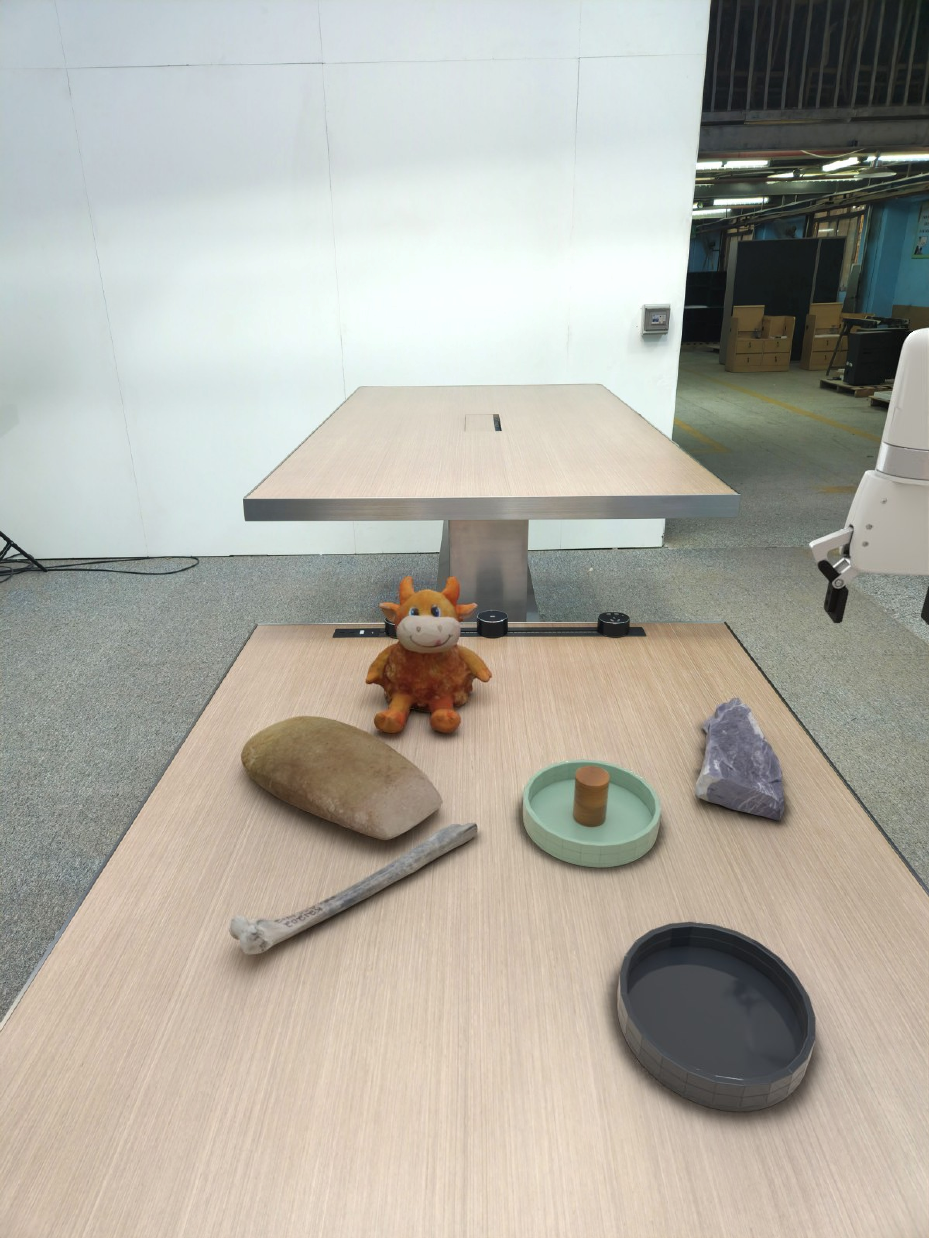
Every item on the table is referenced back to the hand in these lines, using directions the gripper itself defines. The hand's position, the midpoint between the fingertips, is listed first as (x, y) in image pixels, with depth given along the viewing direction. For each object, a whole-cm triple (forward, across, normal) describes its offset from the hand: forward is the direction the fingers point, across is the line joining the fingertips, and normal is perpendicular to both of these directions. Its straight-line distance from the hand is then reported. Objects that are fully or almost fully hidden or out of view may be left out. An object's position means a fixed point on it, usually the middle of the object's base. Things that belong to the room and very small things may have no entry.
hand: (881, 620), depth 81 cm
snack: (+26, +30, +5) cm, 39 cm away
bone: (+26, +53, +20) cm, 63 cm away
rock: (+26, +11, -10) cm, 30 cm away
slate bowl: (+26, +19, +31) cm, 45 cm away
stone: (+26, +62, +3) cm, 68 cm away
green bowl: (+26, +29, +5) cm, 40 cm away
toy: (+26, +54, -20) cm, 64 cm away
